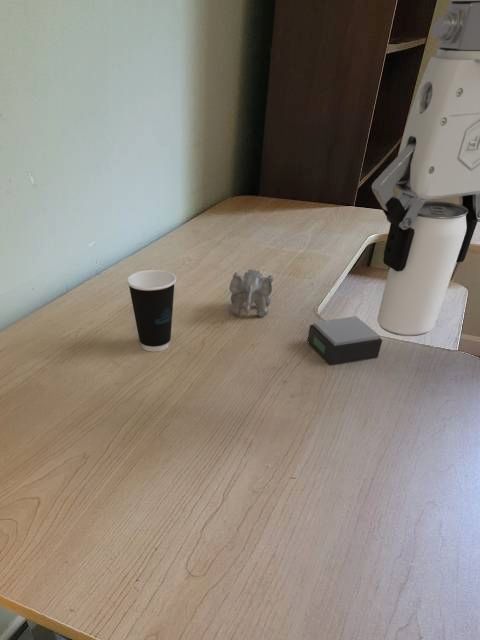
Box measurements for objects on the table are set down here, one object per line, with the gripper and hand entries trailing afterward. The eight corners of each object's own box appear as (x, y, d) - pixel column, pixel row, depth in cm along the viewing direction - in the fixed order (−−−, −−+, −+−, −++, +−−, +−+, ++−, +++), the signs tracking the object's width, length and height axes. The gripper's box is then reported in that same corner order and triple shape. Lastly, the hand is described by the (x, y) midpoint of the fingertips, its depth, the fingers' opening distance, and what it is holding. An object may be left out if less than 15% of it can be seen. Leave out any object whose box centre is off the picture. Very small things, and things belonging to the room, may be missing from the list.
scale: (352, 335, 90) (357, 314, 88) (377, 357, 85) (383, 336, 82) (306, 342, 89) (309, 321, 86) (329, 365, 83) (333, 344, 81)
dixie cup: (138, 333, 93) (133, 268, 85) (181, 336, 92) (180, 270, 84) (127, 354, 88) (120, 286, 80) (172, 357, 86) (170, 289, 78)
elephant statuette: (266, 301, 101) (270, 259, 96) (284, 327, 93) (289, 283, 88) (220, 305, 101) (221, 263, 95) (234, 332, 92) (236, 287, 87)
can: (373, 333, 60) (403, 216, 51) (378, 311, 64) (406, 198, 55) (433, 340, 58) (474, 220, 49) (433, 316, 62) (472, 201, 54)
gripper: (424, 41, 39) (368, 286, 52) (612, 27, 42) (515, 263, 55) (373, 37, 44) (333, 261, 57) (544, 25, 47) (469, 242, 60)
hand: (423, 261), depth 56 cm, fingers closed on can, 6 cm apart
